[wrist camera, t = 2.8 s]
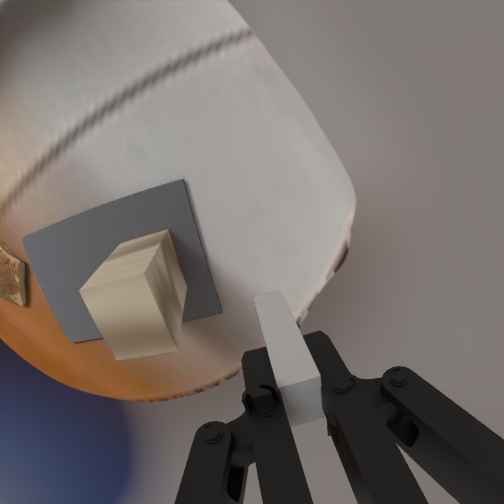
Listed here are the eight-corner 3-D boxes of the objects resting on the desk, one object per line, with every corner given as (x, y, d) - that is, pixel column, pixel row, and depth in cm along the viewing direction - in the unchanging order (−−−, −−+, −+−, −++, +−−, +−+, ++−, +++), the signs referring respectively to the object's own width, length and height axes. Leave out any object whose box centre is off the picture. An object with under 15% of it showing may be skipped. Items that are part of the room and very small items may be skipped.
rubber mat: (23, 237, 23) (21, 238, 23) (183, 179, 24) (182, 179, 24) (72, 340, 28) (70, 342, 28) (222, 310, 29) (222, 312, 29)
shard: (-23, 276, 24) (-29, 282, 22) (-25, 226, 22) (-33, 229, 20) (28, 303, 26) (21, 310, 25) (27, 249, 24) (19, 254, 23)
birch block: (121, 242, 25) (78, 290, 15) (168, 228, 25) (144, 273, 16) (142, 296, 27) (116, 360, 18) (187, 285, 27) (177, 350, 18)
